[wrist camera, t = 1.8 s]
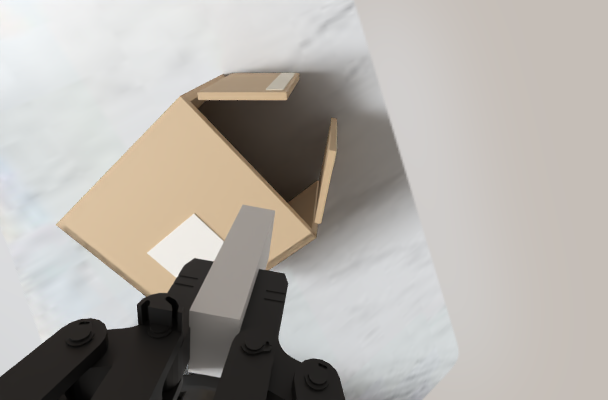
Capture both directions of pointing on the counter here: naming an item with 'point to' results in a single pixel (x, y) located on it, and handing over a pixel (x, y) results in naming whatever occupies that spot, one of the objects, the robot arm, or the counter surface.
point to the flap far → (326, 169)
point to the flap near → (251, 87)
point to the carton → (180, 201)
